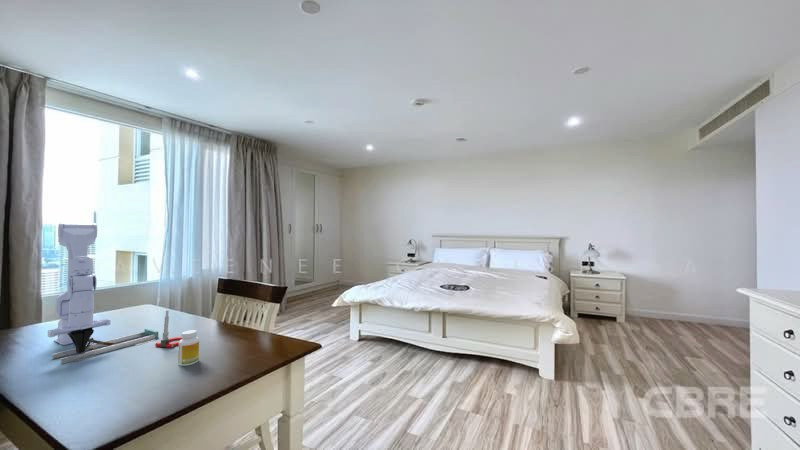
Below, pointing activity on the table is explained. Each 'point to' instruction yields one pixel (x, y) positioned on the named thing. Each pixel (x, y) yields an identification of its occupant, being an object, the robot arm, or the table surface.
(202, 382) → the table surface
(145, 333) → the guide rail
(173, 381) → the table surface
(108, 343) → the wooden post with brackets
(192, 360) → the supplement bottle
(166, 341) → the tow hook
